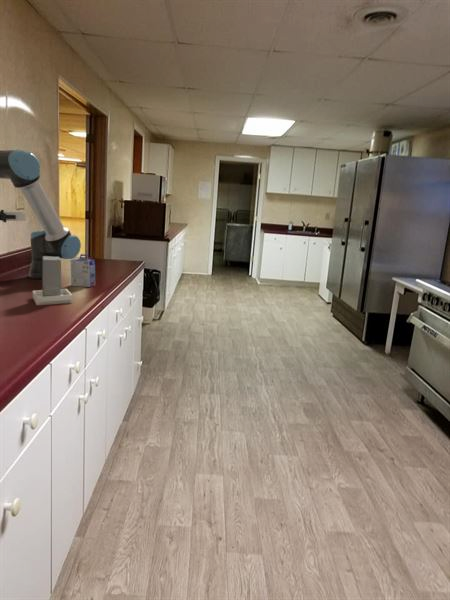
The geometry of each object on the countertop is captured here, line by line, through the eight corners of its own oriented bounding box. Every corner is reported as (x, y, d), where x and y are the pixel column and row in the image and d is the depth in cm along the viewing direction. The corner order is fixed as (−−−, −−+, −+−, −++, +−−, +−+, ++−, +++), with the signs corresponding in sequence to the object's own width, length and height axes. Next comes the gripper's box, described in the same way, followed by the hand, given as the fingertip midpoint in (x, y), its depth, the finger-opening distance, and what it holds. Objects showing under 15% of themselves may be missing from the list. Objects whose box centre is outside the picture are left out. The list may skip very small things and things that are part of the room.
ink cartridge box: (96, 285, 200) (95, 254, 197) (90, 287, 195) (89, 256, 192) (77, 283, 202) (76, 253, 199) (70, 285, 197) (69, 254, 193)
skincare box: (42, 295, 170) (40, 256, 166) (61, 294, 173) (59, 255, 169) (43, 300, 162) (41, 259, 159) (63, 299, 165) (61, 258, 162)
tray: (33, 298, 170) (32, 290, 170) (67, 295, 177) (66, 288, 176) (36, 305, 159) (36, 297, 159) (72, 302, 166) (72, 295, 165)
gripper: (-38, 223, 167) (21, 224, 177) (-41, 227, 146) (27, 228, 156) (-40, 203, 165) (20, 205, 175) (-43, 205, 144) (26, 207, 154)
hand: (24, 216), depth 166 cm, fingers open, 13 cm apart
